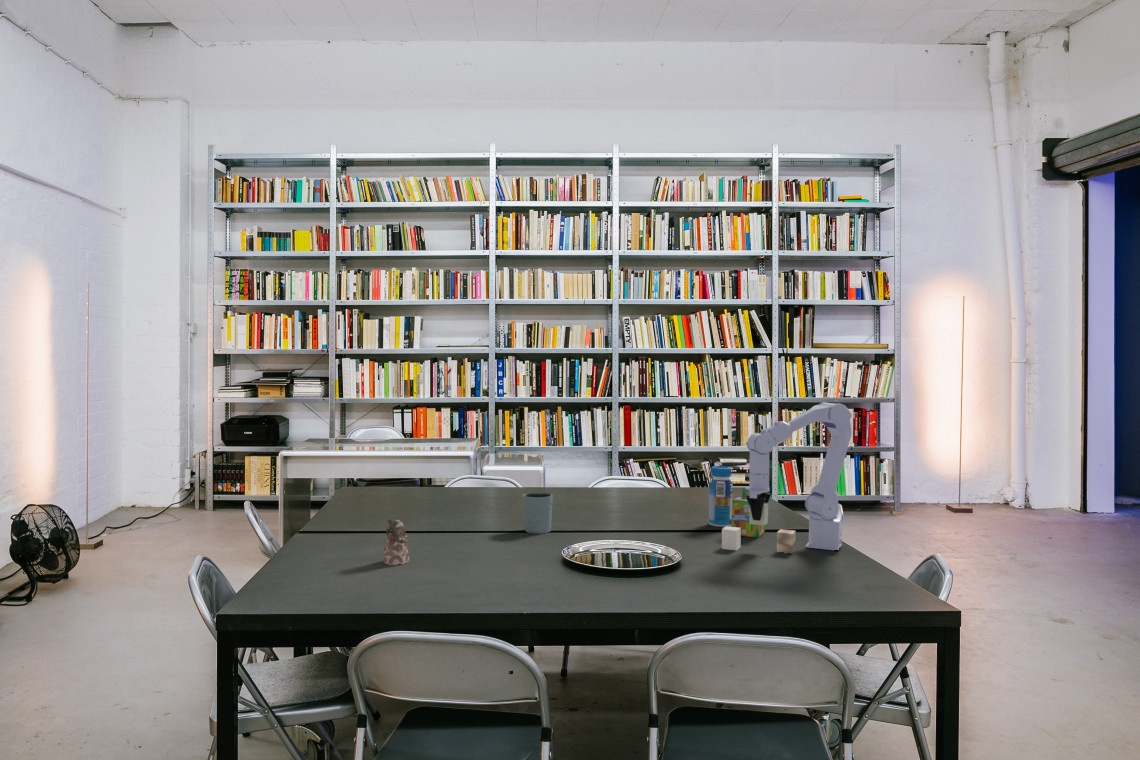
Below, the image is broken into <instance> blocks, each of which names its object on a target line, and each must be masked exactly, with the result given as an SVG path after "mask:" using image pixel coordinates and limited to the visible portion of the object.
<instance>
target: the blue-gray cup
mask: <svg viewBox="0 0 1140 760" xmlns="http://www.w3.org/2000/svg"><path fill="white" fill-rule="evenodd" d="M553 502H554V501H553V494H552V493H550V492H527V493H523V494H522V504H523V515H524V517H523V518H524V530H525V532H526V533H529V534H546V533H550V532H551V531H552V513H553Z"/></svg>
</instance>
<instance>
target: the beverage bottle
mask: <svg viewBox="0 0 1140 760" xmlns="http://www.w3.org/2000/svg"><path fill="white" fill-rule="evenodd" d="M710 468H711V469H710V470H711V471H710V474H711V477H712V479H711V480H710V482H709V485H708V488H709V492H708V524H709V525H710V526H712V527H719V528H724V527H726V526H729V527H731V522H732V500H734V492H733V489H734V485H733V483H732V481H731V479H730V478H731V477H732V468H731V466H728V465H727V466H726V465H715V466H714V465H713V466H712V467H710Z"/></svg>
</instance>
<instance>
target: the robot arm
mask: <svg viewBox="0 0 1140 760" xmlns="http://www.w3.org/2000/svg"><path fill="white" fill-rule="evenodd" d="M851 419H852V413H851V411H850V410H849V408H848V407H847V406H846V405H845V404H843V403H830V402H826V401H822V402H820V403H819V404H816V405H813V406H812V407H811V408H809V409H808V410H805V412H803V413H801V414H798V415H797V416H796V417H794V418H793V419H790V420H789V421H787V422H786V421H782V420H780V421H778V420H776V421H774V422H773V425H771V426H769V427H767V428H763V429H760V433H759V432H754V433H752V434H750V436H749V437H748V439H747V441H746V443H745V444H746V447H747V449H748V451H749V482H748V483H749V484H748V485H749V486H745V487H744V488H745V489H746V490H749V491H750V492H749V495H747V496H746V499H747V501H748V503H749V505H750V509H751V513H752V518H753V520H759V521H760V520H761V516H762V509H763V505H764V502H765V503H768V504H769V501H770V499H771V497H772V493H770V490H771V489H770V453H771V452H772V451H773V449H774V447H776V446H778V445H779V444H782V443H783V442H786V441H787V440H789V439H792V436H793V433H794V432H796V431H799V430H800V429H803V428H805V427H806V426H810V425H812V424H813V423H816V422H818V423H821V424H822V425H823V426H825V427H826V429H827V430H828V431H829V433H830V435H831V438H830V440H829V443H828V447H827V449H826V454H825V458H824V461H823V465H822V467H821V471H820V475H819V479H818V482H817V484H816V485H815V486H813V487H812V488H811V490H810V491H811V492H810V493H809V495H808V496H807V497H806V498H805V502H804V506H805V509H806V510H807V512H808V516H809V519H808V542H807V544H806V545H805V548H811V549H820V550H827V551H829V550H830V551H834V550H838V551H839V550H840V549H839V548H841V547H842V546H843V544H842V540H843V537H842V535H843V534H842V532H843V531H842V530H843V527H842V525H843V524H842V523H843V522H842V520H841V519H837V518H835V517H836V516H837V515H838V514H839V509H840V508H839V507H840V506H839V499H840V495H839V493H838V491H837V487H838V483H839V480H840V476H841V473H842V470H843V465H844V462H845V458H846V456H847V452H848V448H849V446H850V442H851V438H852V426H851V425H852V423H851Z"/></svg>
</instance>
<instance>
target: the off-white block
mask: <svg viewBox="0 0 1140 760" xmlns="http://www.w3.org/2000/svg"><path fill="white" fill-rule="evenodd" d="M741 537H742V536H741V528H738V527H731V526H726V527H722V528H721V549H722V550H729V551H738V550H739V549H741V546H742V545H741V541H742V540H741V539H742V538H741Z"/></svg>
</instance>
